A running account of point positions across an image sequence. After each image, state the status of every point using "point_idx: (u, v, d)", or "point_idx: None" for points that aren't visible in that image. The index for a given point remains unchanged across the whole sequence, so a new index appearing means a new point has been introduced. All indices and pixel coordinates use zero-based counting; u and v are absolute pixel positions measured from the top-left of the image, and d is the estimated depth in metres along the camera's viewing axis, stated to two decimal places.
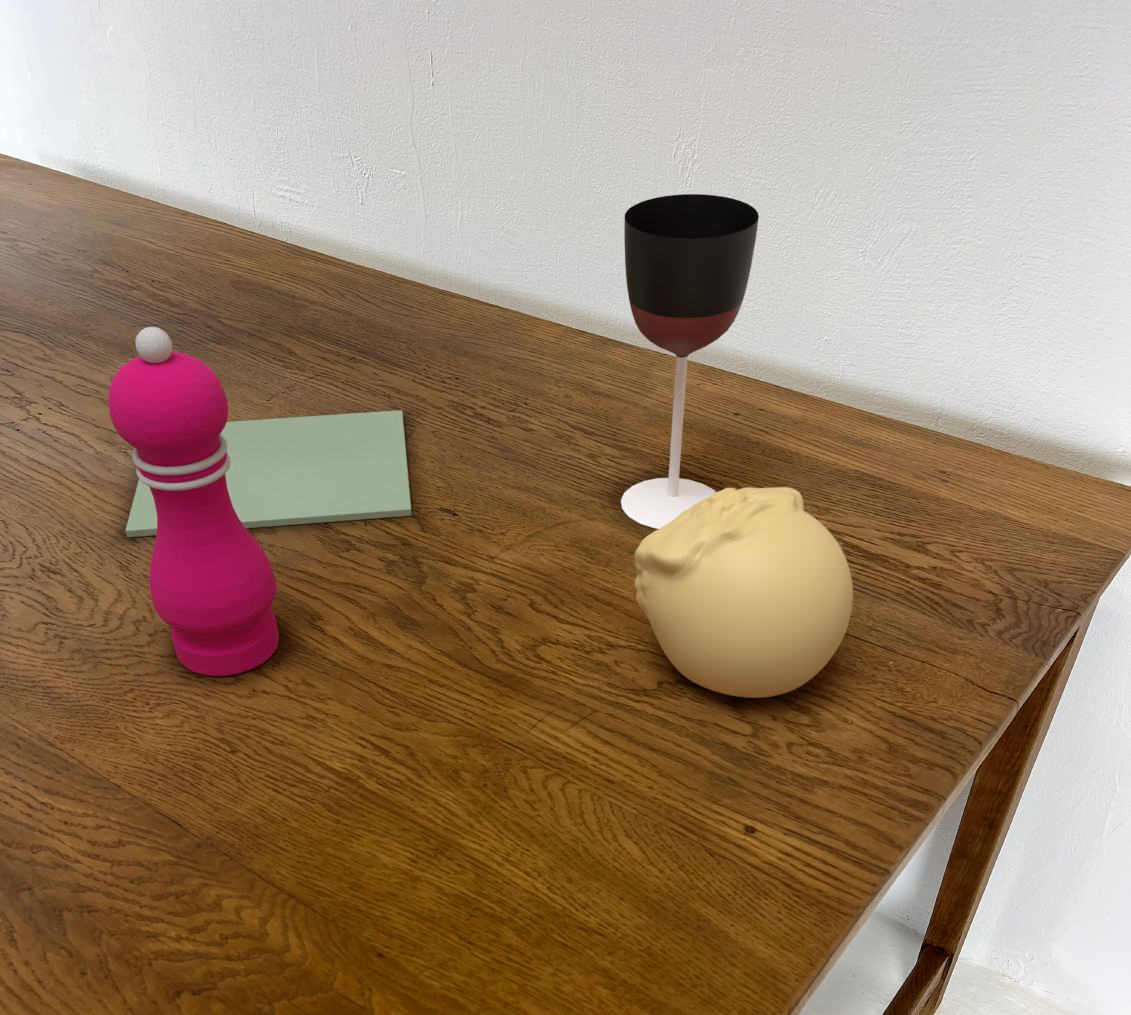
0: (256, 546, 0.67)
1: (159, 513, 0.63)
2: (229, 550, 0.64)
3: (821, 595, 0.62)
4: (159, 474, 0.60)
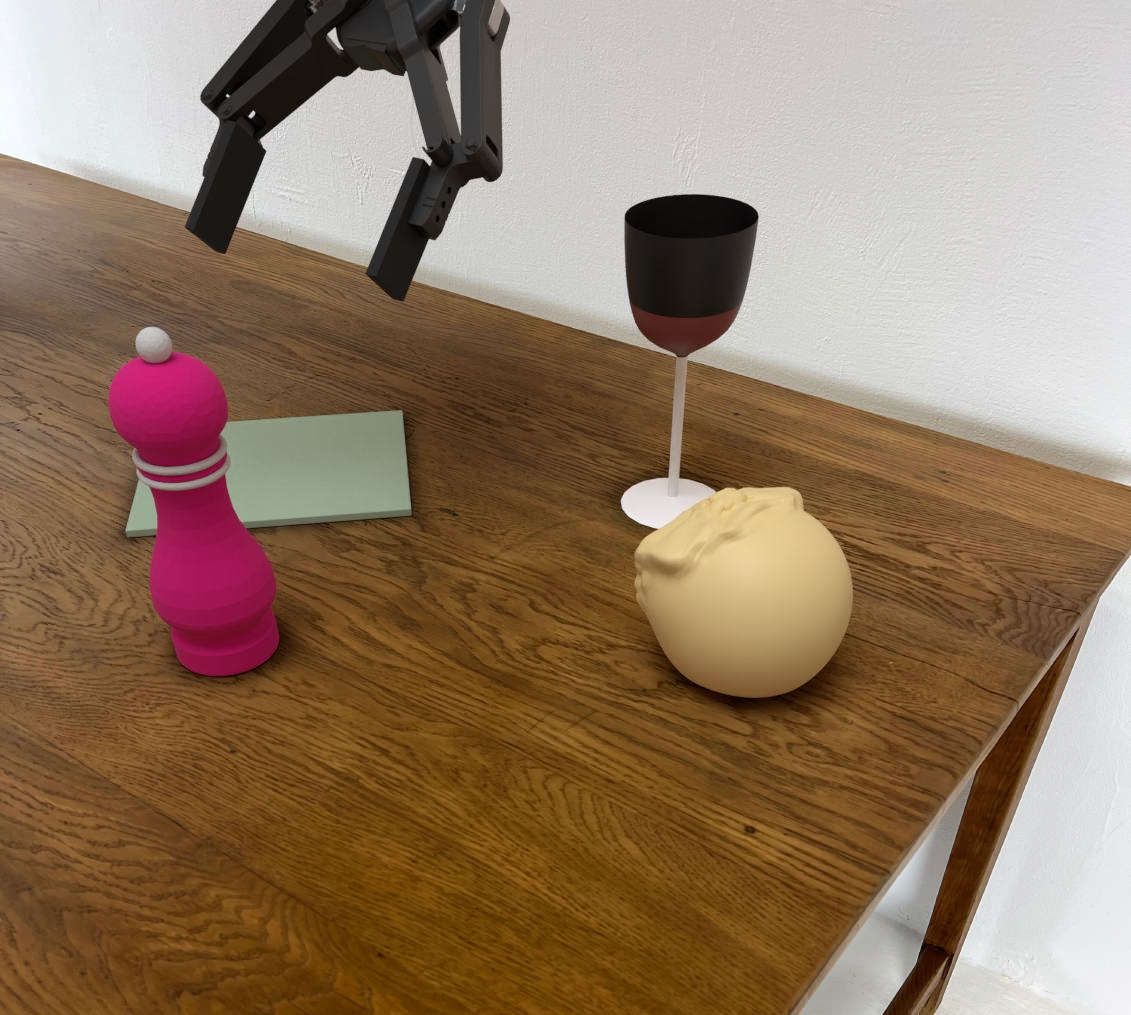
0: (256, 546, 0.67)
1: (159, 513, 0.63)
2: (229, 550, 0.64)
3: (821, 595, 0.62)
4: (159, 474, 0.60)
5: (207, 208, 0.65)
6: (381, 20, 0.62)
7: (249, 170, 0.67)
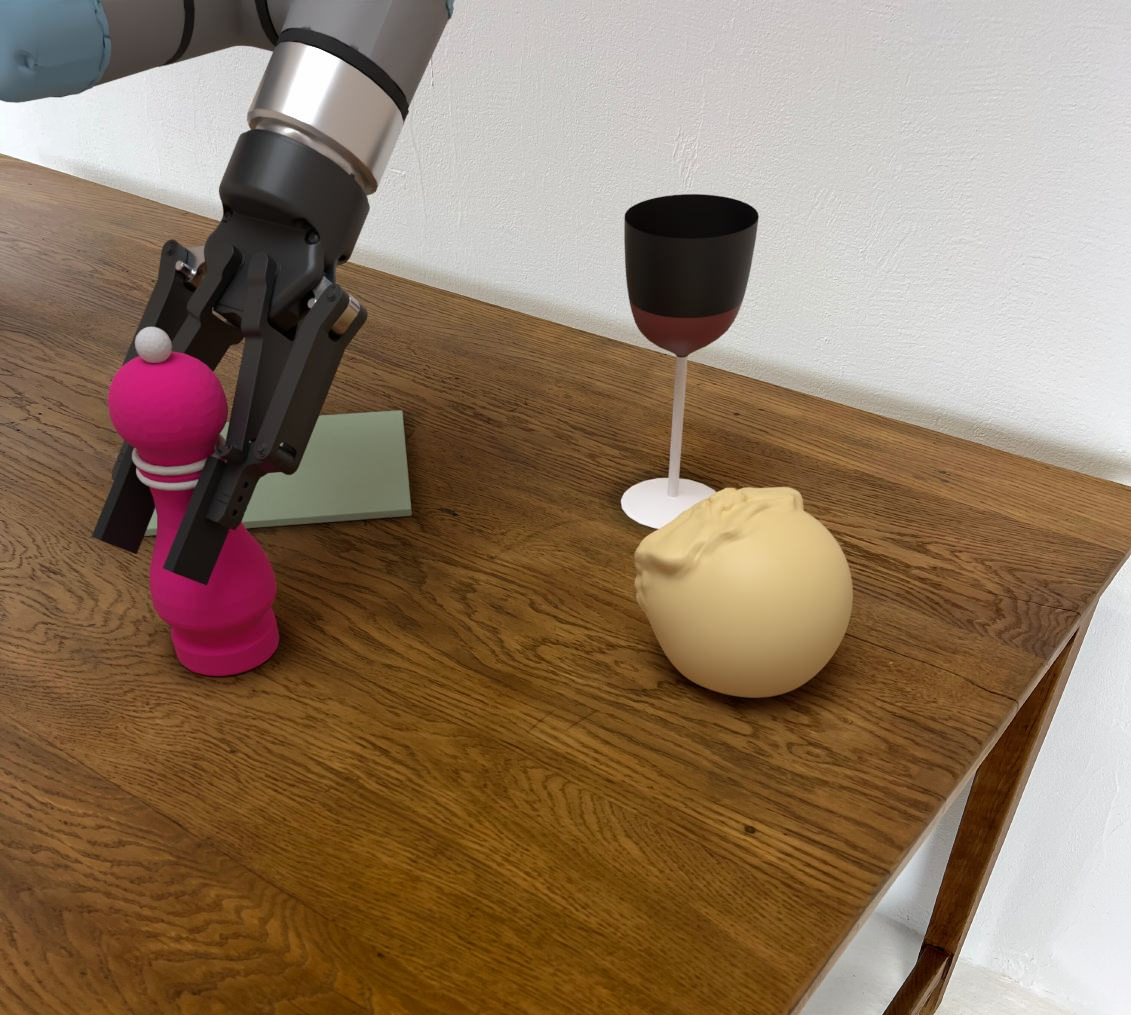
0: (256, 546, 0.67)
1: (159, 513, 0.63)
2: (229, 550, 0.64)
3: (821, 595, 0.62)
4: (159, 474, 0.60)
5: (115, 517, 0.63)
6: None
7: None
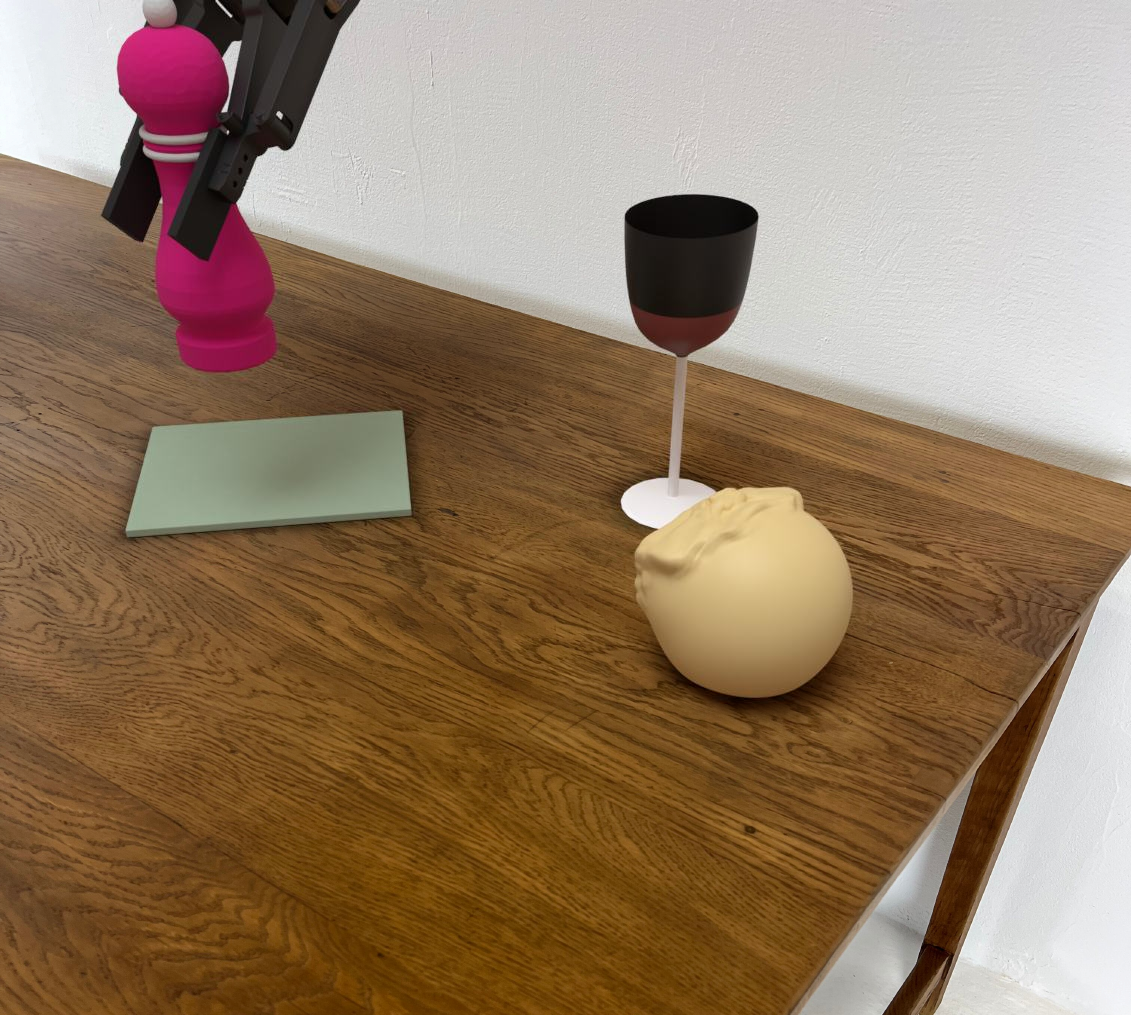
0: (255, 240, 0.70)
1: (164, 194, 0.67)
2: (229, 235, 0.68)
3: (821, 595, 0.62)
4: (164, 143, 0.64)
5: (123, 197, 0.67)
6: None
7: None
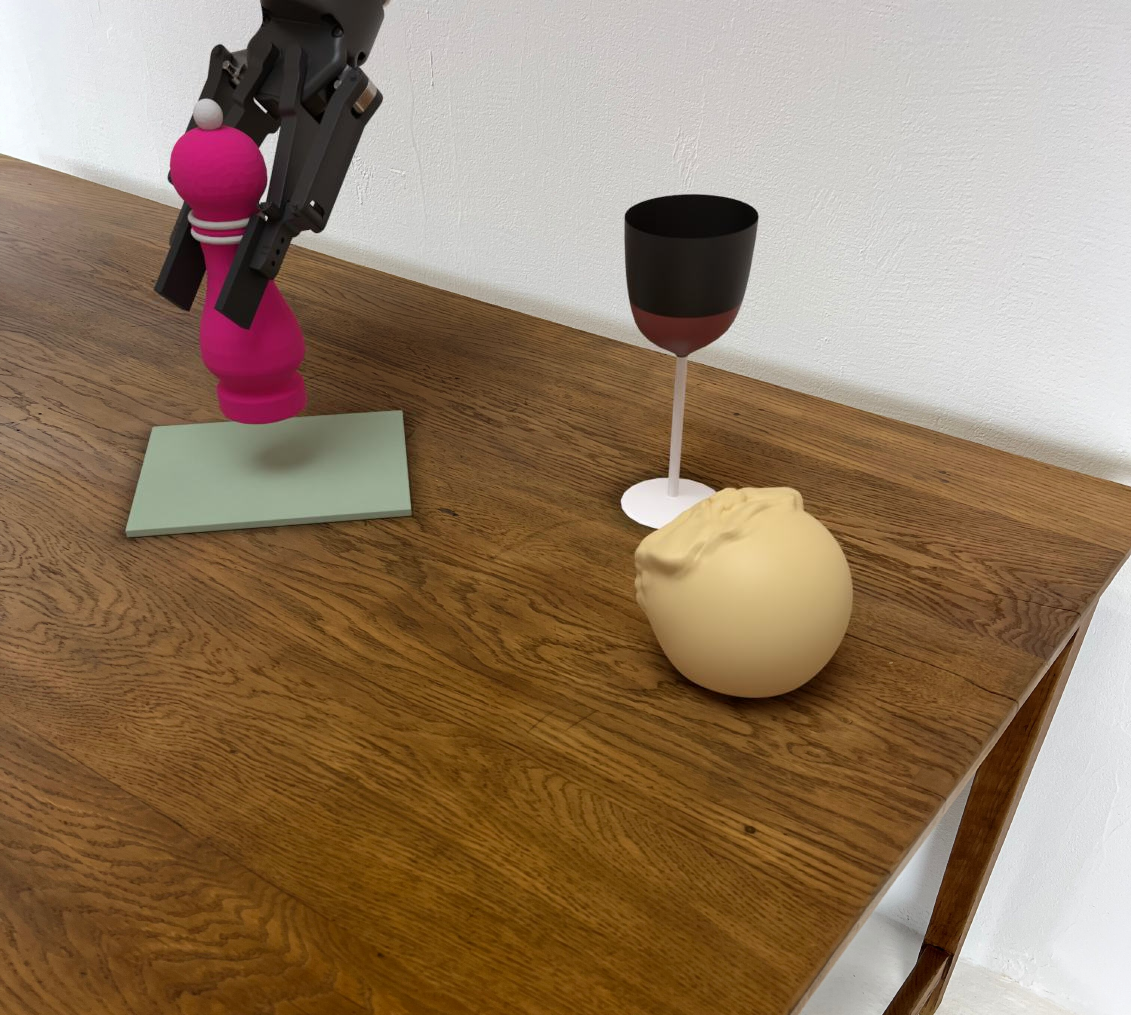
0: (289, 308, 0.79)
1: (209, 270, 0.76)
2: (267, 305, 0.77)
3: (821, 595, 0.62)
4: (211, 228, 0.73)
5: (173, 274, 0.76)
6: None
7: None
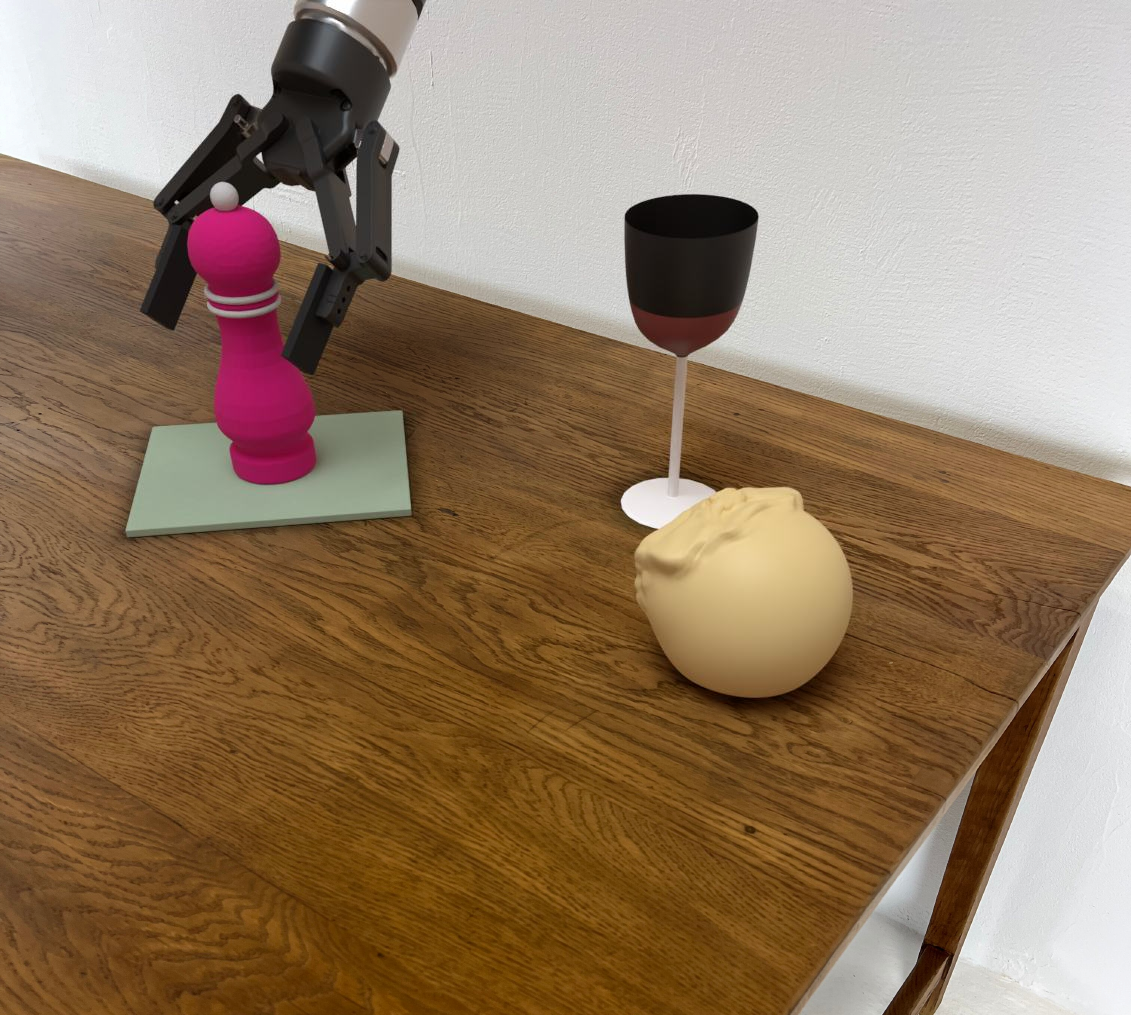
0: (300, 374, 0.82)
1: (224, 341, 0.79)
2: (279, 373, 0.80)
3: (821, 595, 0.62)
4: (226, 303, 0.76)
5: (158, 295, 0.80)
6: (296, 149, 0.77)
7: None
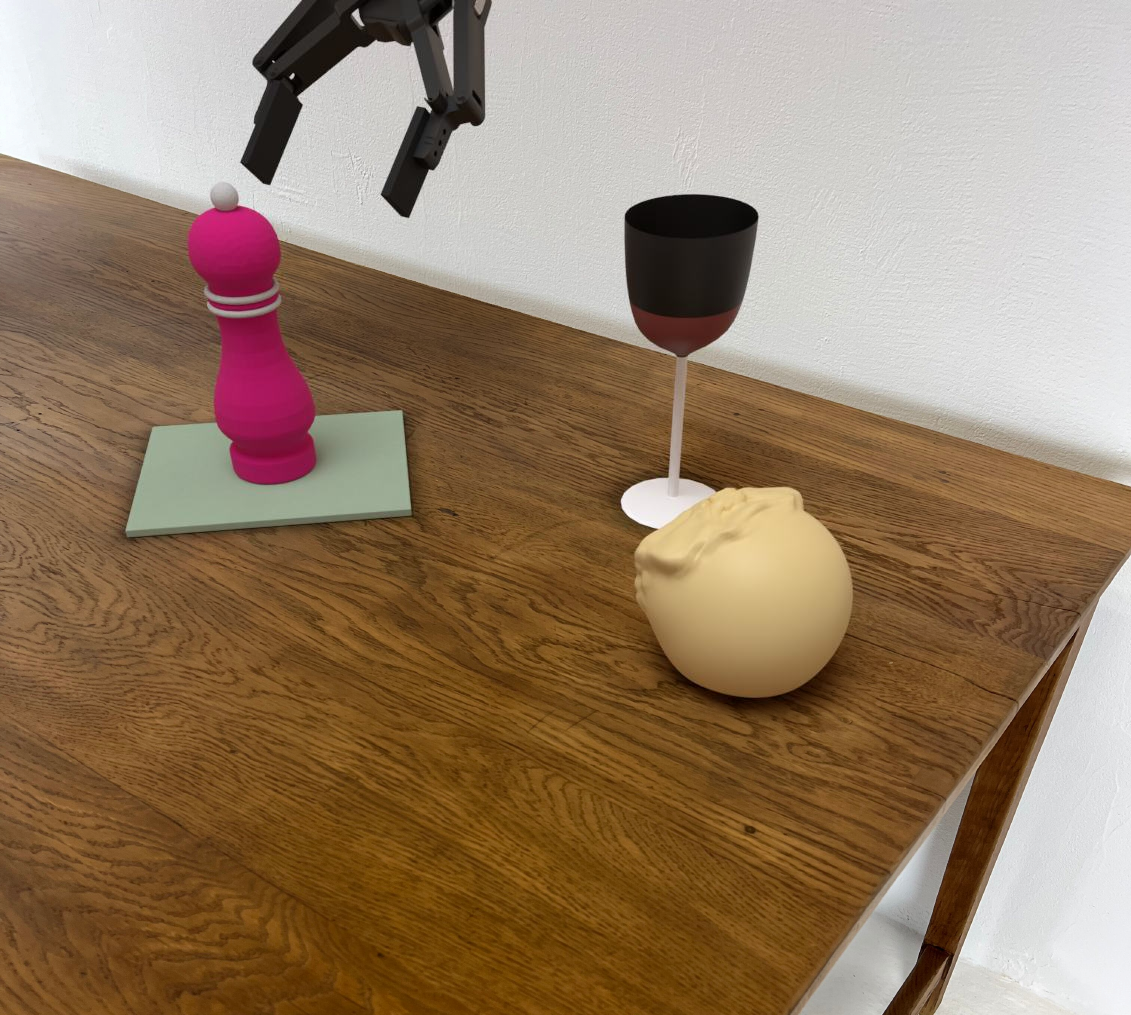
0: (300, 374, 0.82)
1: (224, 341, 0.79)
2: (279, 373, 0.80)
3: (821, 595, 0.62)
4: (226, 303, 0.76)
5: (258, 148, 0.84)
6: (393, 3, 0.81)
7: (289, 119, 0.86)
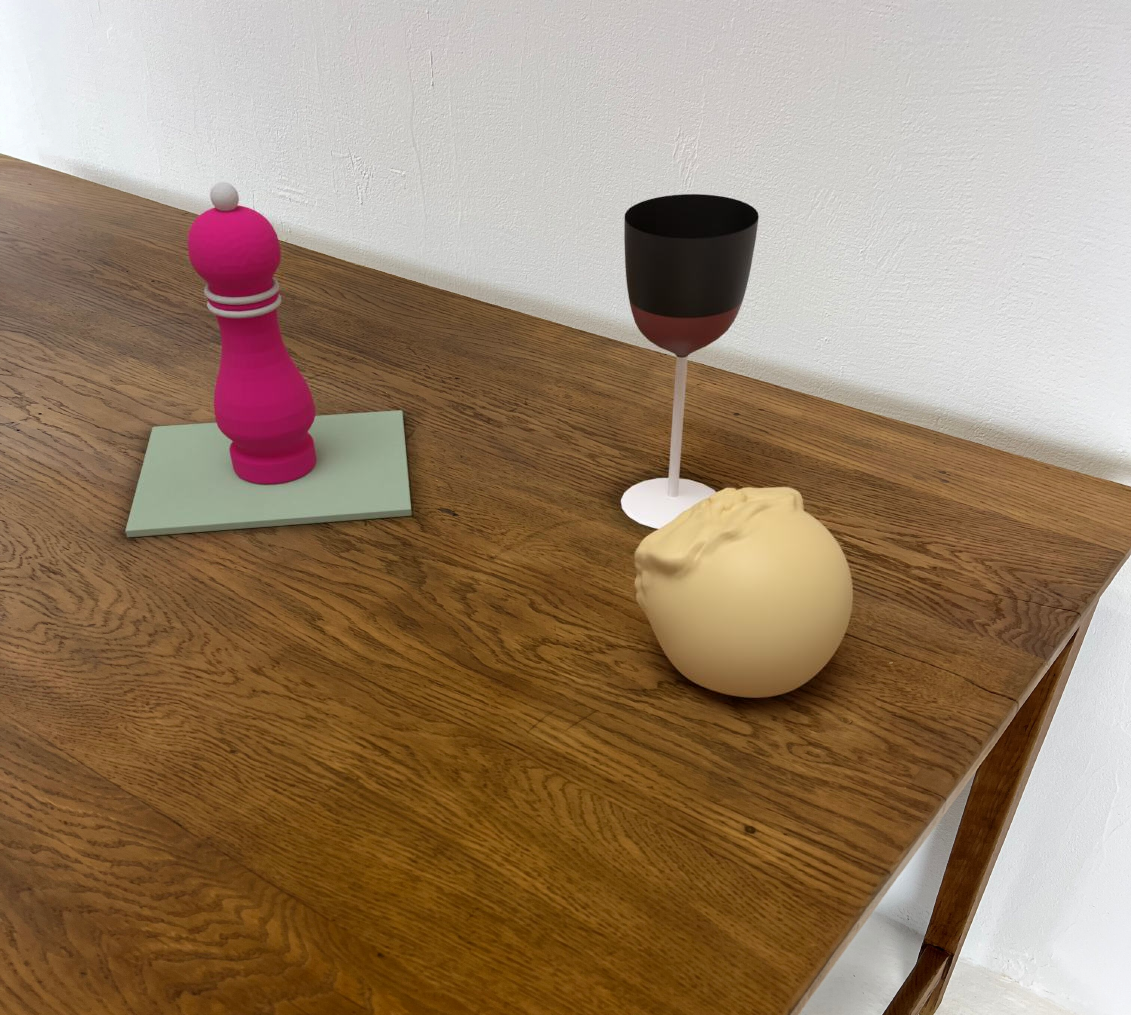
0: (300, 374, 0.82)
1: (224, 341, 0.79)
2: (279, 373, 0.80)
3: (821, 595, 0.62)
4: (226, 303, 0.76)
5: None
6: None
7: None
